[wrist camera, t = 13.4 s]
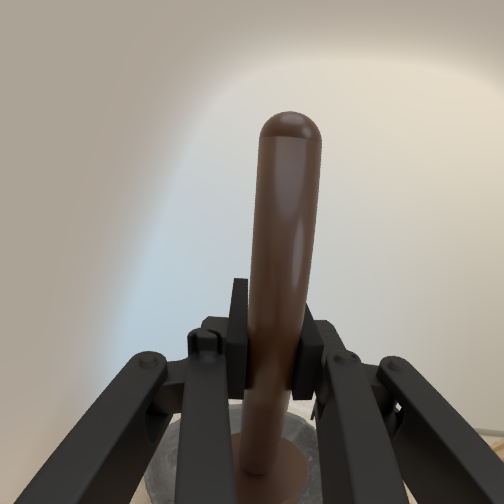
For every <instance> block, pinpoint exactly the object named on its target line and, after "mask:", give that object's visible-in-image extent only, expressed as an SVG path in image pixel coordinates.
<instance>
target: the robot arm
mask: <svg viewBox="0 0 504 504" xmlns="http://www.w3.org/2000/svg"><path fill="white" fill-rule="evenodd" d="M247 320H248V279H242V278H234V283H233V290H232V297H231V305H230V312H229V318H227V317H212V316H208V317H207V318H206V319H205V320H203V322H202V325H201V328H197V329H194V330H192V331H191V332H190V333H189V334H188V336H187V339H188V340H187V341H188V357H187V358H186V359H183V360H179V361H170V362H167V360H166V358H165V357H164V356H163V355H162V354H160V353H157V352H152V351H145V352H141V353H138V354H136V355H134V356H133V357H132V358H131V359H130V360H129V362H128V363H127V364H126V365H125V366H124V367H123V368H122V370H121V371H120V372H119V373H118V374H117V376H116V377H115V378H114V379H113V380H112V381H111V383H110V384H109V385H108V386H107V387H106V389H105V390H104V391H103V392H102V394H101V395H100V396H99V397H98V398H97V399H96V401H95V402H94V403H93V404H92V405H91V407H90V408H89V409H88V410H87V411H86V413H85V414H84V415H83V416H82V418H81V419H80V420H79V421H78V422H77V424H76V425H75V426H74V428H73V429H72V430H71V431H70V432H69V433H68V435H67V436H66V437H65V438H64V440H63V441H62V442H61V443H60V445H59V446H58V447H57V449H56V450H55V451H54V452H53V453H52V455H51V456H50V457H49V458H48V460H47V461H46V462H45V463H44V465H43V466H42V467H41V469H40V470H39V471H38V472H37V474H36V475H35V476H34V478H33V479H32V480H31V481H30V483H29V484H28V485H27V487H26V488H25V489H24V490H23V492H22V493H21V494H20V496H19V497H18V498H17V500H16V501H15V502H14V504H129V503H130V501H131V499H132V497H133V495H134V493H135V491H136V489H137V487H138V485H139V483H140V481H141V479H142V477H143V475H144V473H145V471H146V469H147V467H148V465H149V463H150V461H151V459H152V457H153V455H154V453H155V451H156V449H157V447H158V445H159V443H160V441H161V439H162V437H163V435H164V433H165V431H166V429H167V427H168V425H169V423H170V421H171V419H172V417H173V414H175V413H181V421H180V431H179V442H178V453H177V466H176V480H175V496H174V504H238V501H237V492H236V482H235V472H234V462H233V451H232V440H231V428H230V416H229V403H228V399H239V400H244V391H245V377H246V362H247V347H248V333H247ZM291 391H292V397H293V400H312V397H313V393H314V391H315V394H316V401H315V404H314V408H313V411H312V415H311V419H310V420H313V419H314V416H315V421H316V430H317V440H318V450H319V461H320V472H321V485H322V498H323V504H410V503H409V500H408V496H407V493H406V489H405V486H404V483H403V481H404V482H405V484H406V485H407V487H408V489H409V490H410V492H411V493H412V495H413V497H414V498H415V500H416V501H417V503H418V504H504V462H503V461H502V460H501V459H500V457H499V456H498V455H497V454H496V453H495V452H494V451H493V450H492V449H491V447H490V446H489V445H488V444H487V443H486V442H485V441H484V440H483V439H482V438H481V437H480V436H479V434H478V433H477V432H476V431H475V430H474V429H473V428H472V427H471V426H470V425H469V424H468V423H467V422H466V421H465V419H464V418H463V417H462V416H461V415H460V414H459V413H458V412H457V411H456V410H455V409H454V408H453V407H452V406H451V405H450V404H449V403H448V402H447V401H446V400H445V399H444V398H443V397H442V396H441V394H440V393H439V392H437V390H436V389H435V388H434V387H433V386H432V385H431V384H430V383H429V382H428V381H427V380H426V379H425V378H424V377H423V376H422V375H421V374H420V373H419V372H418V371H417V370H416V369H415V368H414V367H413V366H412V365H411V364H410V363H409V362H408V361H406V360H405V359H403V358H400V357H396V356H387V357H385V358H383V359H382V360H381V361H380V364H379V366H376V365H369V364H364V363H361V360H360V358H359V357H358V355H356V354H355V353H353V352H351V351H348V350H346V348H345V346H344V344H343V342H342V341H341V339H340V337H339V335H338V333H337V332H336V329H335V328H334V326H333V325H332V324H331V323H330V322H328V321H327V320H314V319H313V317H312V315H311V312H310V310H309V308H308V306H307V303H306V306H305V313H304V319H303V326H302V332H301V338H300V344H299V350H298V356H297V362H296V367H295V373H294V378H293V384H292V389H291ZM397 403H399V405H400V406H401V407H402V408H401V410H400V411H399V410H398V409H397V408H396V405H397Z"/></svg>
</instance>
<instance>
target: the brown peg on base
mask: <svg viewBox="0 0 504 504" xmlns="http://www.w3.org/2000/svg"><path fill="white" fill-rule="evenodd" d="M321 149H322V139H321V135H320V131H319V129H318V127H317V126H316V124H315V123H314V122H313V121H312V120H311V119H310V118H309V117H307V116H305V115H303V114H301V113H297V112H291V111H290V112H282V113H279V114H276V115H274V116H273V117H271V118H270V119H269V120H268V121H267V122H266V123H265V124H264V126H263V128H262V130H261V133H260V137H259V149H258V166H257V182H256V196H255V197H256V198H255V212H254V228H253V243H252V258H251V275H250V290H249V305H248V320H247V333H248V347H247V362H246V377H245V391H244V400H242V413H241V429H240V432H238V433H234V434H231V440H232V451H233V462H234V472H235V482H236V492H237V501H238V504H296V503H297V501H298V499H299V497H300V495H301V493H302V491H303V489H304V487H305V484H306V482H307V479H308V475H309V468H308V463H307V460H306V458H305V456H304V454H303V453H302V451H301V450H300V449H299V448H298V447H297V446H296V445H295V444H294V443H292V442H291V441H289V440H287V439H286V438H284V437H282V432H283V428H284V423H285V419H286V414H287V409H288V404H289V399H290V394H291V389H292V384H293V378H294V373H295V367H296V362H297V356H298V350H299V344H300V338H301V332H302V326H303V319H304V313H305V306H306V299H307V292H308V284H309V275H310V269H311V259H312V251H313V243H314V233H315V224H316V213H317V202H318V191H319V178H320V165H321V164H320V163H321Z"/></svg>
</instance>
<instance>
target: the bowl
mask: <svg viewBox="0 0 504 504" xmlns="http://www.w3.org/2000/svg"><path fill="white" fill-rule="evenodd" d="M241 413H242V404H235V405H229V416H230V428H231V434H234V433H238V432H240V429H241ZM180 421H181V419H179V420H177V421H175V422H174V423H172V424H170V425H169V426H168V427H167V429H166V431H165V433H164V435H163V437H162V439H161V441H160V443H159V445H158V447H157V449H156V451H155V453H154V455H153V457H152V459H151V461H150V463H149V465H148V467H147V469H146V471H145V473H144V479H145V485H146V489H147V492H148V494H149V496H150V499H151V502H152V504H174V496H175V480H176V466H177V453H178V442H179V431H180ZM282 437H284V438H286V439H287V440H289V441H291V442H292V443H294V444H295V445H296V446H297V447H298V448H299V449H300V450H301V451H302V453H303V454H304V456H305V458H306V460H307V463H308V468H309V475H308V479H307V482H306V484H305V487H304V489H303V491H302V493H301V495H300V497H299V499H298V501H297V503H296V504H323V498H322V485H321V472H320V461H319V450H318V440H317V431H316V429H315V428H314V427H313V426H311V425H310V424H309V423H307V422H306V420H305V419H303V418H302V417H300V416H297V415H295V414H292V413H289V412H287V414H286V419H285V423H284V428H283V432H282Z"/></svg>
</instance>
